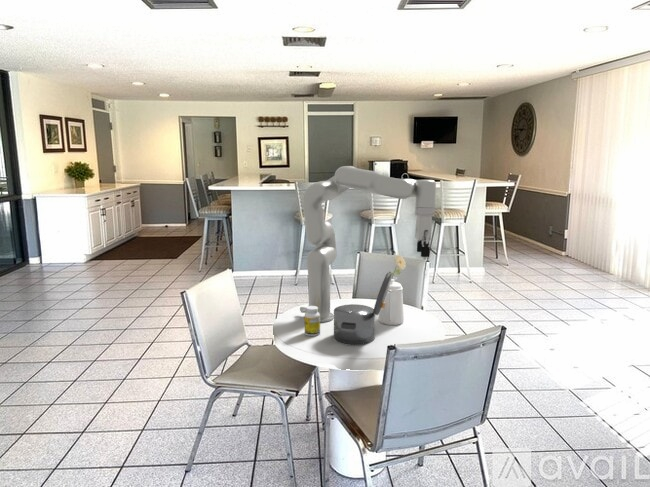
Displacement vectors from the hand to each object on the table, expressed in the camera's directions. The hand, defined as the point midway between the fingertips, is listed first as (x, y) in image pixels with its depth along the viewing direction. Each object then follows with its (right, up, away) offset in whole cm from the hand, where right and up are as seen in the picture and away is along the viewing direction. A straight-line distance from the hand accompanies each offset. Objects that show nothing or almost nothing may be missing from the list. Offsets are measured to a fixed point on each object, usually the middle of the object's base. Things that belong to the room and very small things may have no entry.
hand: (422, 254), depth 188 cm
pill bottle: (-44, -32, +2) cm, 55 cm away
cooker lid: (-18, -15, -8) cm, 24 cm away
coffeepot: (-11, -30, +16) cm, 35 cm away
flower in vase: (-7, -26, +38) cm, 46 cm away
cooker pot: (-27, -33, -2) cm, 43 cm away
